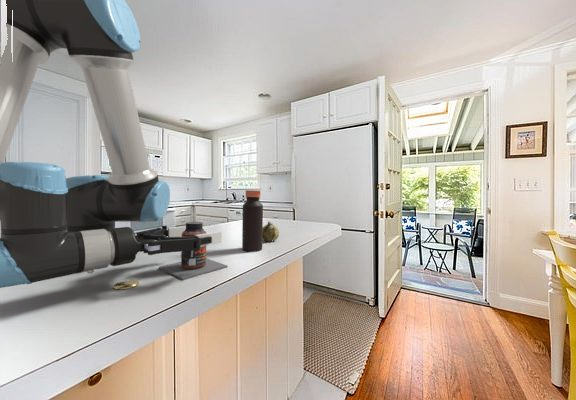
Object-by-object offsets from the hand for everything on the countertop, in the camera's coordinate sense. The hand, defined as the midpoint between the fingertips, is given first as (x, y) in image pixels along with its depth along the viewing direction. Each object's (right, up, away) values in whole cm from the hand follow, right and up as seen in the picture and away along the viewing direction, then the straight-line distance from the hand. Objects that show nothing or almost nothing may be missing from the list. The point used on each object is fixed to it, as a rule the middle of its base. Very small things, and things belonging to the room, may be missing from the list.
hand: (205, 233), depth 64 cm
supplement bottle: (-2, -8, -2) cm, 9 cm away
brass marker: (-12, -9, -14) cm, 20 cm away
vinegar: (+10, -8, +18) cm, 22 cm away
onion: (+15, -8, +32) cm, 36 cm away
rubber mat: (-2, -8, -2) cm, 9 cm away
